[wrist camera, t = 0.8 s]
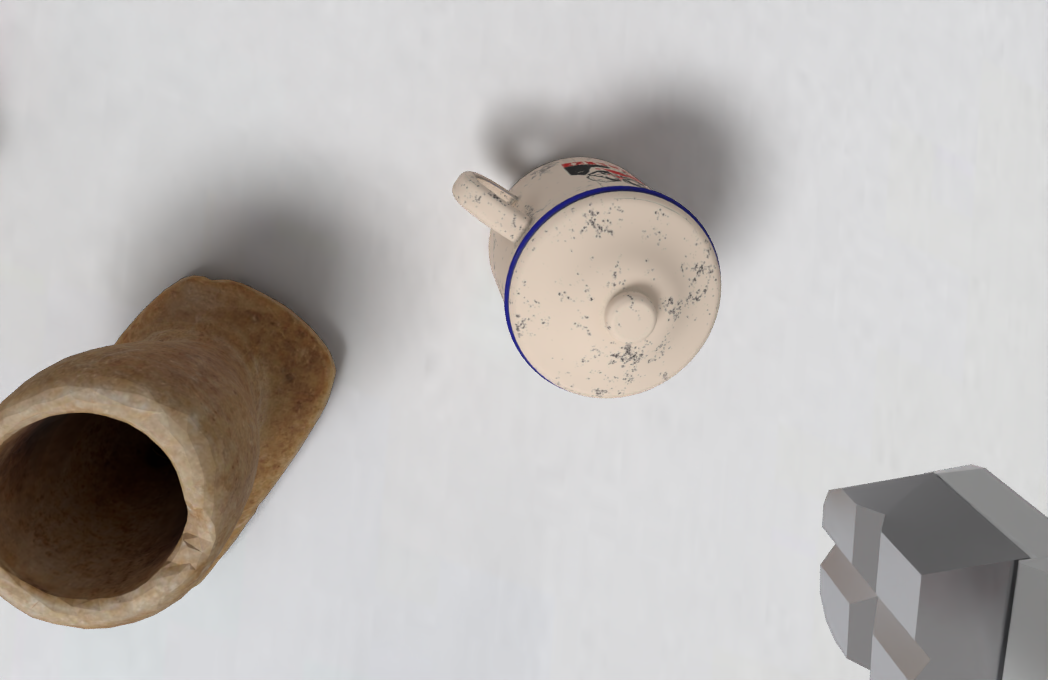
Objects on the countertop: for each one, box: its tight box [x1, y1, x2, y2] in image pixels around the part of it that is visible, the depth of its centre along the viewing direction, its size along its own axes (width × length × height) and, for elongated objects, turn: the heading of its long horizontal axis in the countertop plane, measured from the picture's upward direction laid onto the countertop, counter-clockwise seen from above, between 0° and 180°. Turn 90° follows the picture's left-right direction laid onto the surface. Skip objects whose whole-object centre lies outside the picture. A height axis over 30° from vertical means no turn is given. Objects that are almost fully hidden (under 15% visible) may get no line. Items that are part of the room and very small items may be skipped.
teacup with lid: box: [452, 157, 721, 398], centre depth 40 cm, size 12×9×12 cm
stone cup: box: [0, 275, 336, 629], centre depth 39 cm, size 15×12×15 cm
